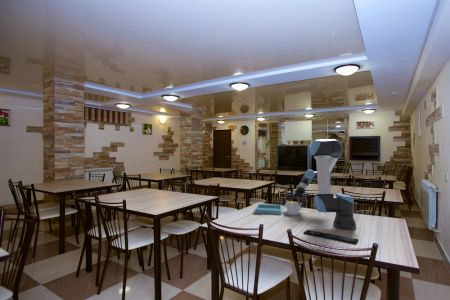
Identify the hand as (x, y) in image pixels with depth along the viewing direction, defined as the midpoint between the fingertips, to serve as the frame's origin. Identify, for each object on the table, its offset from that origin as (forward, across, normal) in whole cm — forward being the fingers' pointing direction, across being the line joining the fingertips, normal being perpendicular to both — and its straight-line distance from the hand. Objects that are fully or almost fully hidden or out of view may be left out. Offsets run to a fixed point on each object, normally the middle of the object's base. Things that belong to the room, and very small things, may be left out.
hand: (291, 208), depth 217 cm
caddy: (+3, 0, -4) cm, 5 cm away
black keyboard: (+24, -48, +15) cm, 56 cm away
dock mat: (+3, 0, -5) cm, 6 cm away
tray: (+8, +20, 0) cm, 22 cm away
